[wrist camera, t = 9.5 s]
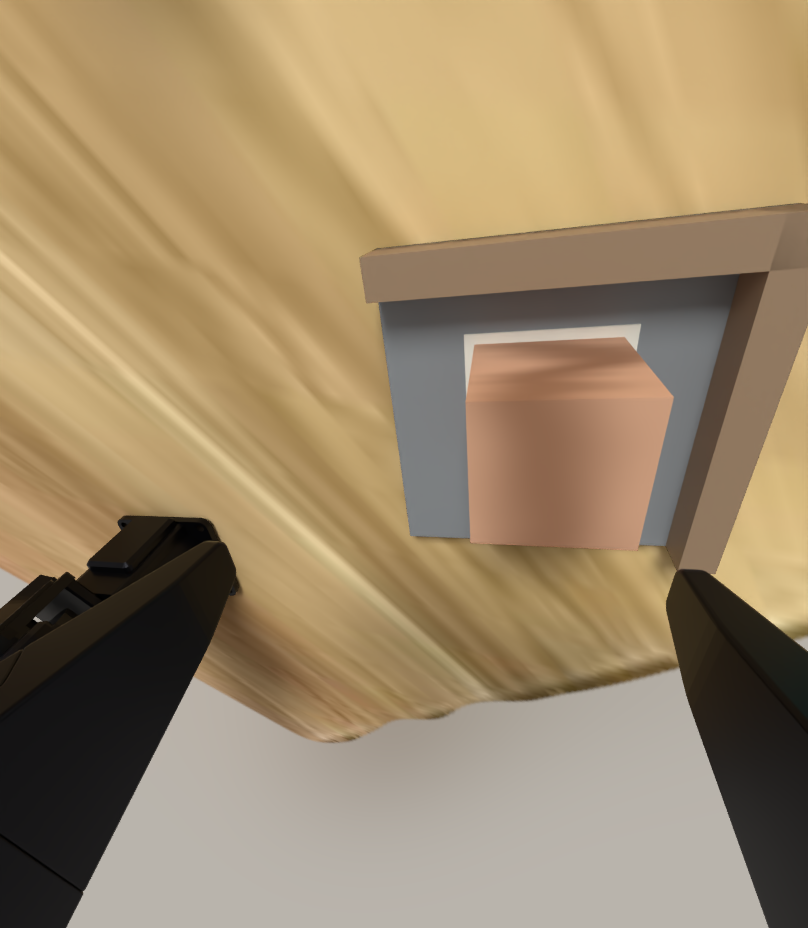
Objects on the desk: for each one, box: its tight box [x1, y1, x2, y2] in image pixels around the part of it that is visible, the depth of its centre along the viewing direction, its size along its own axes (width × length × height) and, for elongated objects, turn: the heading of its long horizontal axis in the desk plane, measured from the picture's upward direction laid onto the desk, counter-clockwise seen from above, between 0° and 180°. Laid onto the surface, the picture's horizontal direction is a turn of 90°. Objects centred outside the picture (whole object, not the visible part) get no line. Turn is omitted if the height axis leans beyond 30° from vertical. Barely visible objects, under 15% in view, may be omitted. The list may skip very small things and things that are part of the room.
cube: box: [465, 337, 674, 551], centre depth 16 cm, size 6×6×6 cm
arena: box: [359, 203, 808, 574], centre depth 18 cm, size 14×14×2 cm
